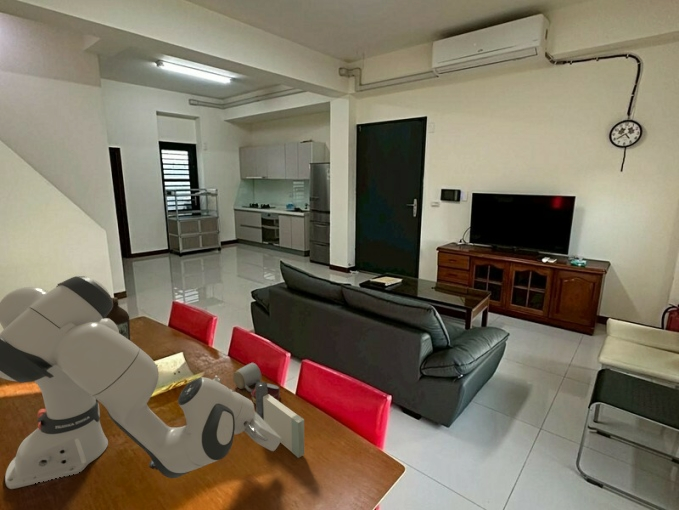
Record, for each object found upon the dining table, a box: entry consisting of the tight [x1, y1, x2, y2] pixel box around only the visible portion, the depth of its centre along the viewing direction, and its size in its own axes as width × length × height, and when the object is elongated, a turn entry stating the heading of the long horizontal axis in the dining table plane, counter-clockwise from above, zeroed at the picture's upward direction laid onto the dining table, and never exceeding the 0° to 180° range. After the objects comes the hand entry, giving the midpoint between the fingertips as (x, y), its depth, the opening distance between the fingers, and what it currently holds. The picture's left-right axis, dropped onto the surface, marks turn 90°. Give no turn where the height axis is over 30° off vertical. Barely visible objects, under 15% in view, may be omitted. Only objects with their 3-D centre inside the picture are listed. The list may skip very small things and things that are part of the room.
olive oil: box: [105, 297, 131, 341], centre depth 163 cm, size 11×11×25 cm
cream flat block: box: [263, 394, 305, 459], centre depth 108 cm, size 17×2×11 cm, turn 45°
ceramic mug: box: [232, 362, 262, 393], centre depth 138 cm, size 11×8×8 cm
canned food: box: [250, 380, 280, 406], centre depth 131 cm, size 11×10×10 cm
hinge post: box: [254, 381, 268, 420], centre depth 115 cm, size 4×4×14 cm
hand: (271, 431), depth 102 cm, fingers closed
